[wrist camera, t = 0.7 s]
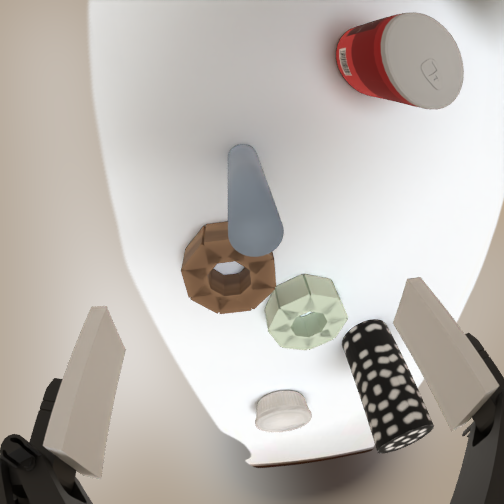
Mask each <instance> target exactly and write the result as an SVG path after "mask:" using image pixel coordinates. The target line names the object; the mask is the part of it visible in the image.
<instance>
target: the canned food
mask: <svg viewBox="0 0 504 504" xmlns="http://www.w3.org/2000/svg"><path fill="white" fill-rule="evenodd" d="M336 60H337V65H338V68H339V70H340V72H341V74H342V76H343V77H344V79H345V80H346V81H347V82H348V83H349V84H350V85H351V86H352V87H353V88H354V89H356V90H357V91H359V92H360V93H363V94H365V95H368V96H373V97H378V98H383V99H387V100H391V101H396V102H400V103H404V104H408V105H412V106H416V107H421V108H424V109H441V108H444V107H446V106H448V105H450V104H451V103H452V102H453V101H454V100H455V99H456V97H457V96H458V94H459V92H460V90H461V87H462V83H463V72H464V70H463V61H462V58H461V54H460V51H459V49H458V46H457V44H456V42H455V41H454V39H453V37H452V36H451V34H450V33H449V32H448V31H447V29H446V28H445V27H444V26H442V25H441V24H440V23H439V22H438V21H436V20H435V19H433V18H432V17H429V16H427V15H425V14H421V13H402V14H398V15H393V16H390V17H386V18H383V19H379V20H376V21H373V22H370V23H366V24H363V25H360V26H357V27H354V28H352V29H350V30H348V31H347V32H346V33H344V35H343V36H342V37H341V38H340V41H339V43H338V45H337V50H336Z"/></svg>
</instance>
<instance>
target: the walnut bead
mask: <svg viewBox="0 0 504 504" xmlns="http://www.w3.org/2000/svg"><path fill="white" fill-rule="evenodd" d="M233 261H236V262H238V263H239V264H241V265H242V266H244V267H245V268H244V269H243V270H242V271H241V272H240V273H239V274H231V275H223V274H221V273H219V272H218V271H216V270H214V269H213V268H214V267H215V266H216V264H217V263H225V262H233ZM181 272H182V276H183V279H184V283H185V286H186V290H187V293H188V296H189V297H191V300H193V301H195V302H196V303H198V304H200V305H202V306H204V307H206V308H208V309H210V310H212V311H213V312H215V313H218V312H220V314H225V313H234V312H242V311H251V308H252V309H255V308H256V307H257V306H258V305H259V304H260V303H261V302H262V301H263V300H264V299H265V298H266V297H268V296H269V295H270V294H271V293H272V292H273V291H274V290H275V287H276V279H275V265H274V257H273V253H272V252H270V253H269V254H266V255H264V256H259V257H250V256H246V255H243V254H241V253H239V252H238V251H236V250H235V249H234V248H233V247H232V245H231V243H230V241H229V238H228V222H220V223H212V224H206V227H205V226H203V227H202V229H201V230H200V231H199V232H198V234H197V235H196V236H195V237H194V239H193V240H192V241H191V243H190V244H189V245H188V246H187V248H186V249H185V254H184V259H183V264H182V269H181Z"/></svg>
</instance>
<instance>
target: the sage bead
mask: <svg viewBox="0 0 504 504" xmlns="http://www.w3.org/2000/svg"><path fill="white" fill-rule="evenodd" d="M309 311H311V312H313V313H311V314H308V315H306V316H304V317H300V315H303V314H305V313H307V312H309ZM265 313H266V320H267V326H268V332H269V333H270V334H271V336H272V337H273V338H274V339H275V341H276V342H277V343H278V344H279V346H280V347H282V348H289V349H299V350H307V349H309V350H310V349H312V348H315V347H317V346H320V345H322V344H324V343H326V342H329V341H331V340H333V338H336V336H337V335H338V333H339V332H340V330H341V329H342V327H343V326H344V324H345V323H346V321H347V320H348V316H347V313H346V311H345V309H344V307H343V304H342V302H341V300H340V297H339V295H338V293H337V291H336V289H335V286H334V284H333V282H332V280H330V279H328V278H323V277H318V276H313V275H308V274H304V276H303V275H302V274H301V275H299V276H297V277H295V278H293V279H291V280H289V281H286V282H284V283H282V284H280V285H278V286H276V288H275V290H274V291H273V292H272V294H271V296H270V298H269V301H268V303H267V305H266V308H265Z"/></svg>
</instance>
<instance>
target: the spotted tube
mask: <svg viewBox="0 0 504 504" xmlns="http://www.w3.org/2000/svg"><path fill="white" fill-rule="evenodd" d="M342 345H343V349H344V352H345V354H346V357H347V360H348V363H349V366H350V369H351V371H352V374H353V377H354V380H355V383H356V386H357V389H358V392H359V395H360V398H361V401H362V404H363V407H364V410H365V413H366V416H367V419H368V422H369V426H370V429H371V432H372V435H373V438H374V442H375V445H376V448H377V451H378V453H388V452H392V451H396V450H398V449H401V448H404V447H406V446H408V445H410V444H412V443H414V442H416V441H418V440H419V439H421V438H423V437H424V436H425V435H427V434H428V433H429V432H430V431H431V430H432V429H433V427H434V425H433V423H432V421H431V418H430V416H429V413H428V411H427V409H426V406H425V404H424V402H423V399H422V397H421V395H420V393H419V391H418V388H417V386H416V384H415V382H414V380H413V377H412V375H411V373H410V371H409V369H408V367H407V365H406V363H405V361H404V358H403V356H402V354H401V352H400V350H399V348H398V346H397V344H396V342H395V340H394V338H393V336H392V334H391V332H390V331H389V329H388V327H387V325H386V323H385V322H383V321H381V320H369V321H365V322H362V323H360V324H358V325H356V326H355V327H353V328H352V329H351V330H350V331H349V332H348V333H347V334H346V335H345V337H344V339H343V342H342Z"/></svg>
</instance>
